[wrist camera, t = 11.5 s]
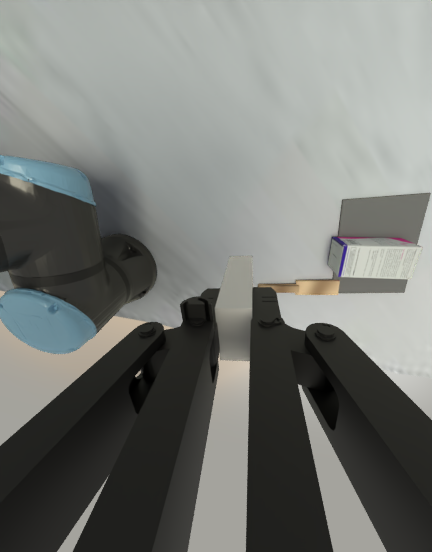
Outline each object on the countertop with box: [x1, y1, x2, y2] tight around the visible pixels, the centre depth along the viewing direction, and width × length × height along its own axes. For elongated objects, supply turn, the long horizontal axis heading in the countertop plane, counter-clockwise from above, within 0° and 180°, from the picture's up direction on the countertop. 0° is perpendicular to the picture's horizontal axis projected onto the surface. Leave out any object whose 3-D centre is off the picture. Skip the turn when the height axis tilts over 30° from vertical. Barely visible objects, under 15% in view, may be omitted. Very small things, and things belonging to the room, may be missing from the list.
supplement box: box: [328, 237, 423, 279], centre depth 39 cm, size 6×6×12 cm
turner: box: [258, 280, 340, 295], centre depth 46 cm, size 16×3×1 cm, turn 95°
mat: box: [333, 193, 431, 293], centre depth 41 cm, size 13×18×1 cm
